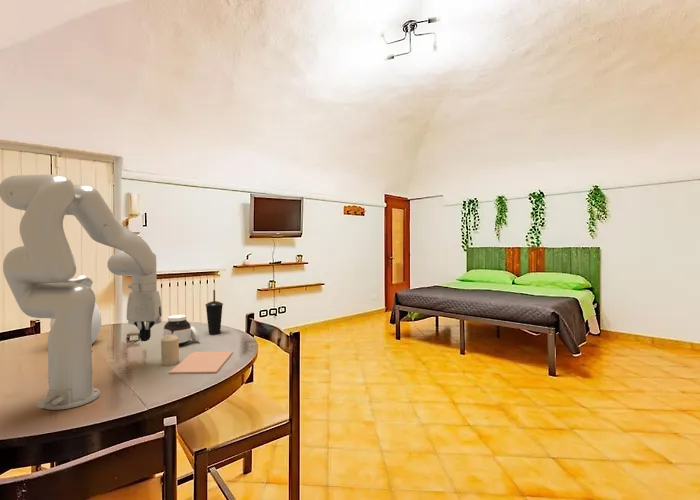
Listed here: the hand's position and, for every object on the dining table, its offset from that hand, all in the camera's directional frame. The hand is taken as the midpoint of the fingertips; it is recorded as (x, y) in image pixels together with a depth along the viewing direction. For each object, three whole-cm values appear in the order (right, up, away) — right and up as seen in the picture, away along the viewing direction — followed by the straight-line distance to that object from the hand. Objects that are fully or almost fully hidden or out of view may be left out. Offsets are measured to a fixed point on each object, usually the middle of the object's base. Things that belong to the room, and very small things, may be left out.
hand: (145, 340), depth 133 cm
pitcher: (-41, -7, +26) cm, 49 cm away
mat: (+20, -8, +1) cm, 21 cm away
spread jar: (+2, -8, +25) cm, 27 cm away
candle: (+8, -8, +1) cm, 12 cm away
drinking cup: (+9, -7, +42) cm, 43 cm away
